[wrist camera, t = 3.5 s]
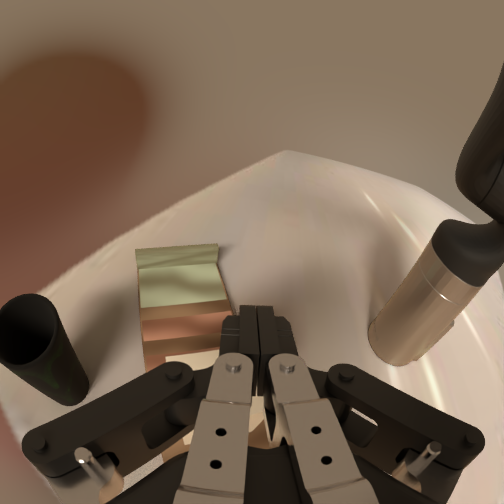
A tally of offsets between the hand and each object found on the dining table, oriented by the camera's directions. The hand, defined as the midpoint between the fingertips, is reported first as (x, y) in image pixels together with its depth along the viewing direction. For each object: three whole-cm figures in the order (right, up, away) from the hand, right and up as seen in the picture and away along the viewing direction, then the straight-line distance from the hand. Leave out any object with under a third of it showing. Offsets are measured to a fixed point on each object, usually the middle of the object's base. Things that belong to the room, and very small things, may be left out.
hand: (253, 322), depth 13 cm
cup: (-21, -12, +11) cm, 27 cm away
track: (-7, -9, +19) cm, 22 cm away
